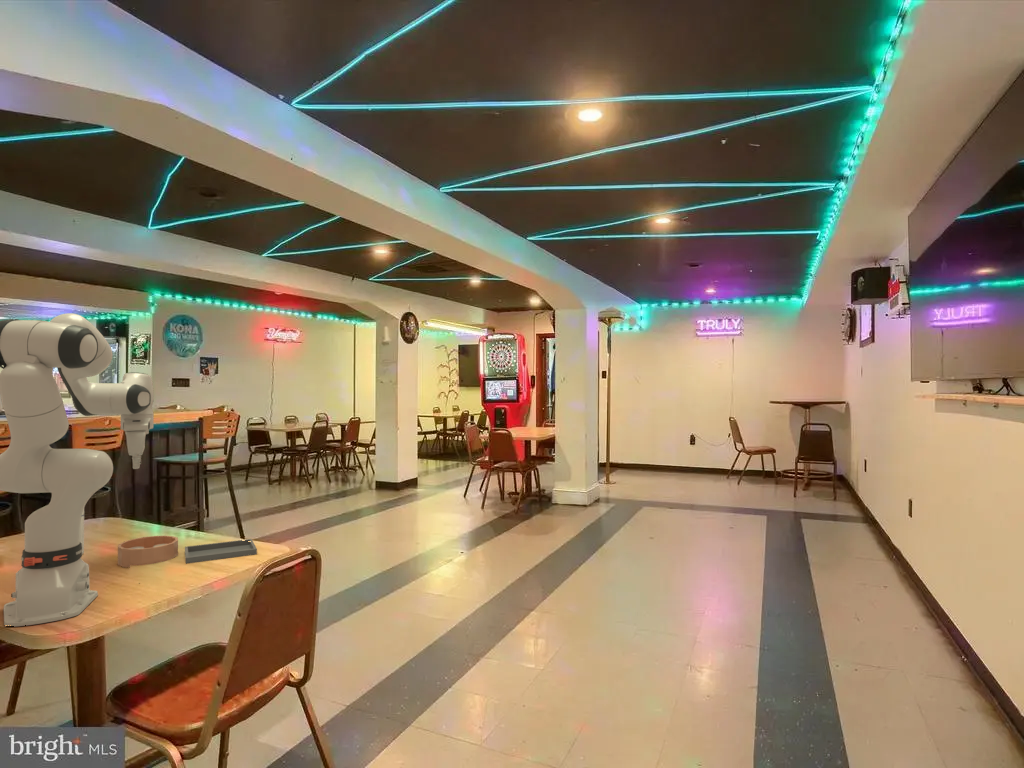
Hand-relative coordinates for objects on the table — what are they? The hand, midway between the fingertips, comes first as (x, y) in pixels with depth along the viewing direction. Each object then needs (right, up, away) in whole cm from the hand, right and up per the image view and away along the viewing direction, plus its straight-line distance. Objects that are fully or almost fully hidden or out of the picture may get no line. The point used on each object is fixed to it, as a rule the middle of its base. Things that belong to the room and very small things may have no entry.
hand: (136, 466), depth 185 cm
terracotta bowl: (+5, -29, -2) cm, 30 cm away
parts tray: (+25, -29, +3) cm, 39 cm away
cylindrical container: (-23, -29, +3) cm, 37 cm away
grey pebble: (+2, -28, -4) cm, 29 cm away
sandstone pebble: (+8, -28, 0) cm, 29 cm away
